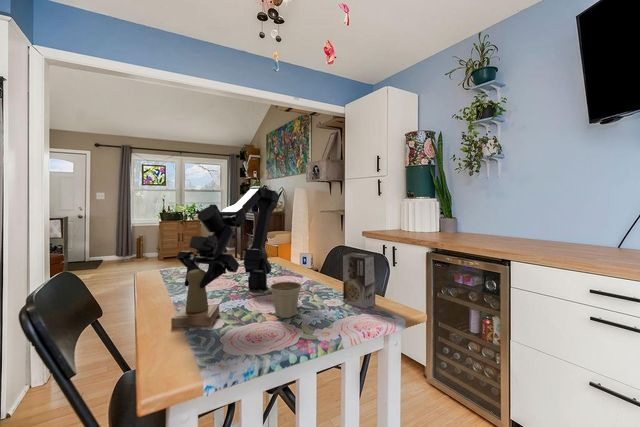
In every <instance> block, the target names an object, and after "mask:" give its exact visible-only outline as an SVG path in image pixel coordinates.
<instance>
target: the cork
mask: <svg viewBox="0 0 640 427" xmlns="http://www.w3.org/2000/svg"><path fill="white" fill-rule="evenodd" d="M206 272H207V271H205V270H204V269H201V268H200V269H196V270H191V271H189V272H188V273H187V272H186V273H187V281H188V282H189V285H188V287H187V294H186V303H185V305H186V311H187V312H201V311H204V310H206V309H208V305H209V302H208V295H207V290H206V289H207V288H206V286H205V287H204V288H200V284H201V282H202V280H203V278H204V276H205V274H206Z"/></svg>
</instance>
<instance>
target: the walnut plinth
mask: <svg viewBox="0 0 640 427" xmlns="http://www.w3.org/2000/svg"><path fill="white" fill-rule="evenodd" d="M219 314H220V304H208V309H206V310H204V311H201V312H187V311H186V304H185V305H184V306H182V307H181V309H180V310H178V311H177V312H176V313H175V314H174V315H173V316H172V317H171V320H170V321H171V322H170V323H171V324H170V326H171V327H170V328H173V329H175V328H199V327H201V328H203V327H205V328H206V327H211V326H212V325H213V323H214V322H215V320H216V319H217V317H218V315H219Z"/></svg>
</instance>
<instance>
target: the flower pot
mask: <svg viewBox="0 0 640 427" xmlns="http://www.w3.org/2000/svg"><path fill="white" fill-rule="evenodd" d="M301 288H302V284H301V283H300V282H295V281H281V282H275V283H272V284H270V285H269V289H270V290H271V292H270V293H272V300H273V306H274V311H275V313H274V314H275V316H276V317H279V318H281V319H288V318H292V317H293V316H294V317H295V316H296V315H297V312H298V304H299V297H300V296H299V295H300V292H301Z"/></svg>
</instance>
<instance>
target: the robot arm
mask: <svg viewBox="0 0 640 427" xmlns="http://www.w3.org/2000/svg"><path fill="white" fill-rule="evenodd" d="M279 200H280V194H278V193H277V191H276V190H272V189H270V188H265V187H264V186H261V185H260V186H258V185H257V186H251V187H249V189H248V191H247V192H246V193H244V195H243V196H242V197H241V198H240V199H239V200H238V201H237V202H236V203H235V204H233V205H230V206H227V207H226V208H224V209H223V210H221V211H220V209H219V208H218V206H217V204H211V203H210V204H209V205H208V206H207V207H204V208H203V209H202V210H200V211H199V212H198V213H197V219H198V221H199V222H200V224H202V226H203V227H204V229H206V231H207V232H209V233H211V235H210V234H209V235H207V236H201V235H200V236H199V235H192V236H191V237H190V241H189V245H188V247H189V248H191V249H194V250H196V251H195V252H196V253H197V254H198V256H197V255H195V253H194V252H193V251H192V250H191V251H190V250H180V251H179V252H178V254H177V255H176V256H175V258H176V259H177V260H178V261H179V262H180V263H181V264H182V265H183V266H184V267H185V268H186V275H185V279H184V286H185V287H187V288H188V285H189V282H188V281H187V273H188V272H189V271H191V270H196V269H201V268H200V267H199V266H200V264H203V265H208V268H207V270H206V271H205V272H206V274H205V276H204V278H203V280H202V282H201V284H200V288H204V287H205V288H206V286H208V285H209V284H210V283H212V282H213V281H214V280H216V279H218V278H220V277H221V276H222V275H224V274H227V272H228V273H237V271H238V270H239V267H240V264H239V262H238V261H237V259H236V258H235V257H234V256H233V254H232V253H231V254H230V253H227V252H228V249H227V247H228V245H229V243H230V242H231V240H237V235H236V232H235V230H233V229H232V228H241V227H242V226H243V225H244V224H245V221H247V220H246V219H247V214H248V213H249V211H251V209H252V208H253V207H254V205H255V204H256V206H257V208H258V213H257V214H258V215H257V219H256V225H255V229H254V234H253V239H252V244H251V246H250V247H249V248H246V249H245V251H244V257H243V265H244V266H243V267H244V271H245V273H248V274H249V275H248V277H247V279H248V280H247V281H248V282H247V286H248V287H247V288H248V291H267V289H268V285H269V284H268V274H270V273H271V272H272V265H271V264H270V262H269V261H268V258H269V257H268V256H269V255H268V253H267V250H266V244H267V238H268V232H269V229H270V228H269V227H270V223H271V216H272V213H273V212H274V210H275V209H276V208H277V206H278V202H279ZM226 270H227V271H226Z"/></svg>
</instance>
